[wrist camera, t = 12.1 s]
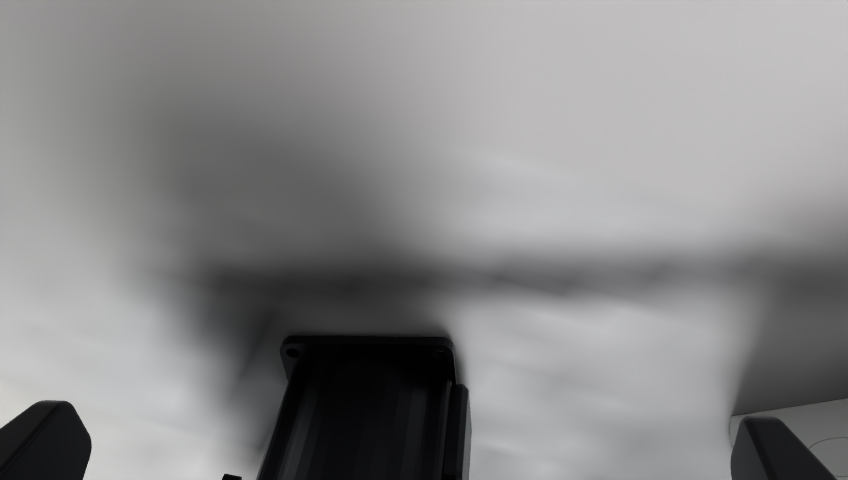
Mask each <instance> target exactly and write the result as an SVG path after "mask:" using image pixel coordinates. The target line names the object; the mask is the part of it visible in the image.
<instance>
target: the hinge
mask: <svg viewBox="0 0 848 480" xmlns="http://www.w3.org/2000/svg"><path fill="white" fill-rule="evenodd" d="M748 415H751V416H774V417H777V418H779V419H780V420H782V421H783V422H784V423H785V424H786V425H787V426H788V427H789V428H790V429H791V430H792V432H793V433H794V434H795V435H796V436H797V437H798V438H799V439H800V440H801V441H802V442H803V443H804V444H805V445H806V446H807V447H808V449H809V450H810V451H811V452H812V453H813V454H814V455H815V456H816V457H817V458H818V459H819V460H820V461H821V462H822V463H823V465H824V466H825V467H826V468H827V469H828V470H829V471H830V472H831V473H832V474H833V475H834V476H835V477H836V478H837V479H838V480H848V398H846V399H840V400H834V401H827V402H821V403H814V404H808V405H802V406H795V407H789V408H782V409H776V410H769V411H763V412H757V413H750V414H744V415H737V416H731V421H730V443H731V444H732V446H733V447H734V443H735V439H736V435H737V431H738V427H739V424H740V421H741V419H742V418H743V417H745V416H748Z"/></svg>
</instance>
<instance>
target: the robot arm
mask: <svg viewBox="0 0 848 480" xmlns="http://www.w3.org/2000/svg"><path fill="white" fill-rule="evenodd" d="M292 348H294V349H296V350H293V349H292ZM437 350H443V352H439V351H437ZM280 354H281V358H282V361H283V365H284V368H285V372H286V375H287V379H288V385H287V388H286V391H285V394H284V397H283V400H282V403H281V406H280V409H279V412H278V415H277V418H276V421H275V424H274V427H273V430H272V433H271V436H270V439H269V442H268V445H267V448H266V451H265V454H264V457H263V460H262V463H261V466H260V469H259V472H258V475H257V478H256V480H469V466H470V450H471V434H472V428H471V415H470V402H469V390H468V389H467V388H466V387H465V386H464V385H463V384H458V383H457V372H456V361H455V350H454V345H453V343H452V342H451V341H450V340H449V339H446V338H443V337H377V336H289V337H287V338H285V339H284V341H283V343H282V345H281V348H280ZM91 448H92V447H91V438H90V435H89V433H88V432H87V430H86V428H85V426H84V425H83V423H82V421H81V419H80V417H79V416H78V414H77V412H76V410H75V408H74V407H73V405H72V404H71V403H69V402H67V401H52V400H45V401H39V402H37V403H35V404H33V405H32V406H30V407H29V408H28V409H26V410H25V411H24V412H22V413H21V414H20V415H18V416H17V417H16V418H14V419H13V420H11V421H10V422H9V423H7V424H6V425H5V426H3V427H2V428H1V429H0V480H83V477H84V474H85V471H86V467H87V464H88V461H89V458H90V454H91ZM731 476H732V480H838V479H837V478H836V477H835V476H834V475H833V474H832V473H831V472H830V471H829V470H828V469H827V468H826V467H825V466H824V465H823V463H822V462H821V461H820V460H819V459H818V458H817V457H816V456H815V455H814V454H813V453H812V452H811V451H810V450H809V449H808V447H807V446H806V445H805V444H804V443H803V442H802V441H801V440H800V439H799V438H798V437H797V436H796V435H795V434H794V433H793V432H792V430H791V429H790V428H789V427H788V426H787V425H786V424H785V423H784V422H783V421H782V420H780V419H779V418H777V417H774V416H751V415H748V416H745V417H743V418H742V419H741V421H740V424H739V427H738V431H737V435H736V439H735V443H734V447H733V451H732V455H731ZM222 480H242V477H239V476H234V475H229V474H224V476H223V478H222Z"/></svg>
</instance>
